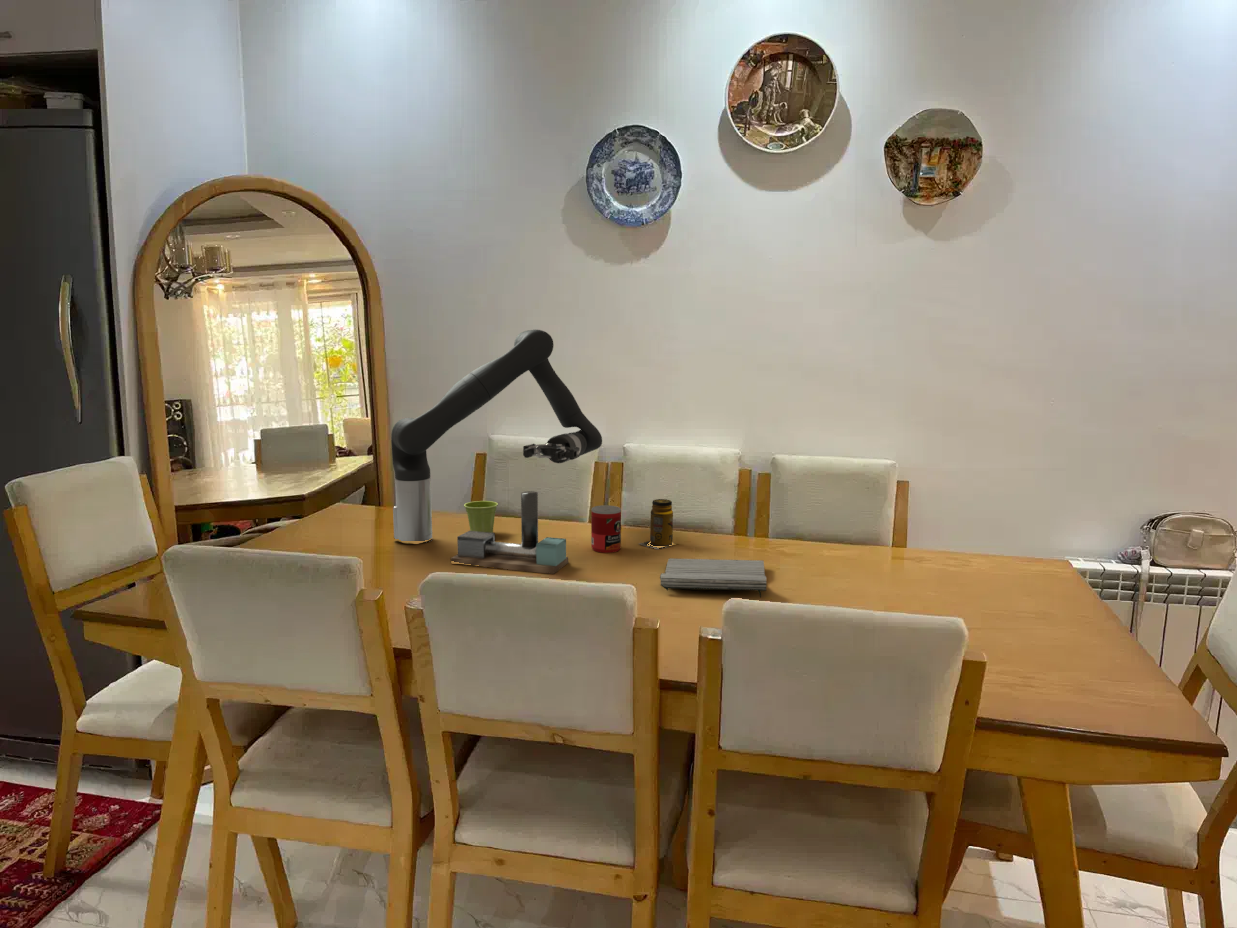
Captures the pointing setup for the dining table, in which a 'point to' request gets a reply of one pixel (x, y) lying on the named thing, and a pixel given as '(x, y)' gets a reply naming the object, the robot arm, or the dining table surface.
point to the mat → (714, 574)
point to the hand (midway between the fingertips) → (541, 455)
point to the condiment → (661, 524)
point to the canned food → (606, 528)
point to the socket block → (551, 551)
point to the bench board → (511, 563)
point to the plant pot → (481, 515)
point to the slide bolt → (527, 528)
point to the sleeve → (473, 544)
